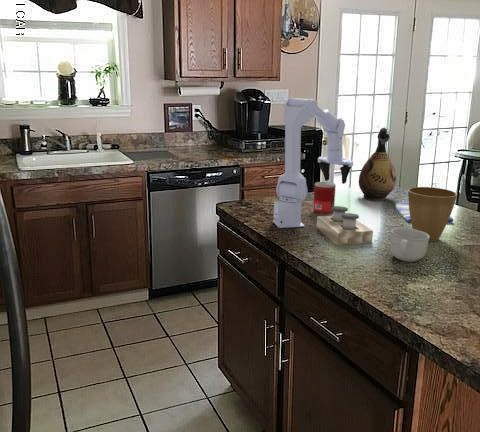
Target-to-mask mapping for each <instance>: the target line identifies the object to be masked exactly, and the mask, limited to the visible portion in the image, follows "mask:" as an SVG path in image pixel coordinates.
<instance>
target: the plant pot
mask: <svg viewBox="0 0 480 432" xmlns="http://www.w3.org/2000/svg"><path fill="white" fill-rule="evenodd" d="M407 193H408V194H407V196H408V198H407V200H408V202H409V212H410V219H411V223H410V224H411V227H412V228H411V229H416V230H419V231H422V232H425V233H427V234H428V235H429V236H430V238H429V241H428V243H434V242H438V241H439V240H440V237H441V236H442V234H443V232H444V230H445V228H446V226H447V225H448V224H447V222H448V220H449V217H450V216H451V215H452V212H453V209H454V206H455V204H456V199H457V197H458V193H457V192H456V191H452V190H450V189H445V188H440V187H432V186H431V187H430V186H416V187H409V188H408V189H407Z"/></svg>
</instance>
